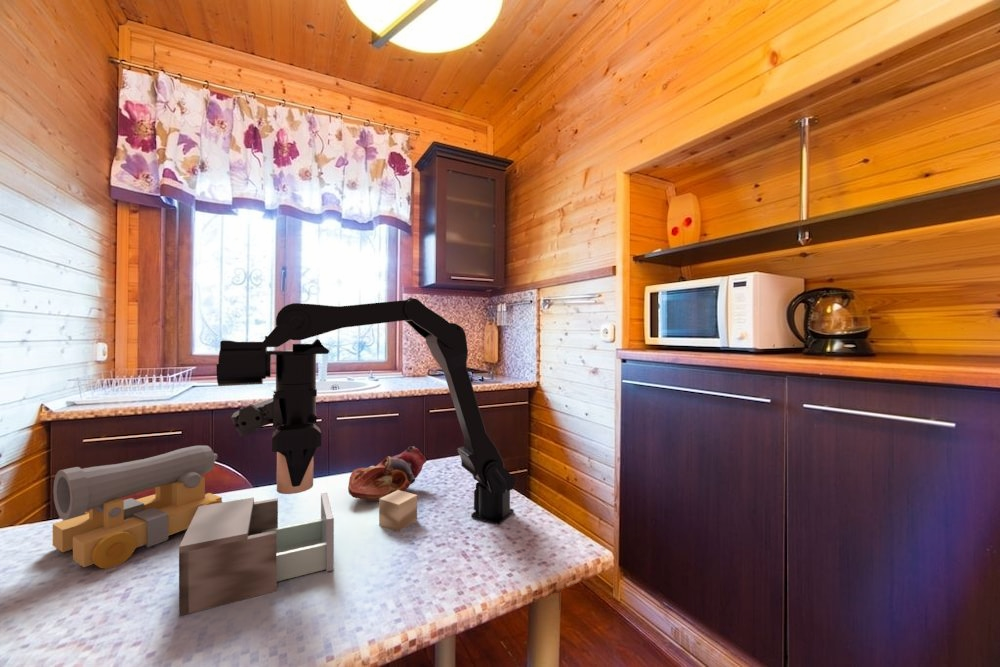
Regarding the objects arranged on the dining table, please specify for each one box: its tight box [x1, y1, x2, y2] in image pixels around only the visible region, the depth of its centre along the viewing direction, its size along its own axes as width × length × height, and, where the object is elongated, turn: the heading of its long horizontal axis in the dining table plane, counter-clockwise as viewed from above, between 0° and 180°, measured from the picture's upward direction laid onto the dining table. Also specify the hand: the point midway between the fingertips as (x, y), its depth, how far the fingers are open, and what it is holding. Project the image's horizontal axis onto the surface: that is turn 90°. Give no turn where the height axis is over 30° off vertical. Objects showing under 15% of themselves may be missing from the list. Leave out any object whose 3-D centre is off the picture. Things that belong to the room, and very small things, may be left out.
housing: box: [178, 497, 279, 617], centre depth 61 cm, size 11×14×9 cm
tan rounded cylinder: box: [276, 452, 314, 495], centre depth 65 cm, size 5×5×6 cm
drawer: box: [261, 492, 335, 583], centre depth 65 cm, size 10×11×8 cm
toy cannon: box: [52, 445, 223, 570], centre depth 73 cm, size 16×22×15 cm
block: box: [378, 490, 418, 532], centre depth 78 cm, size 5×5×5 cm
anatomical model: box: [347, 445, 427, 502], centre depth 91 cm, size 11×13×15 cm
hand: (295, 480), depth 65 cm, fingers closed on tan rounded cylinder, 5 cm apart
